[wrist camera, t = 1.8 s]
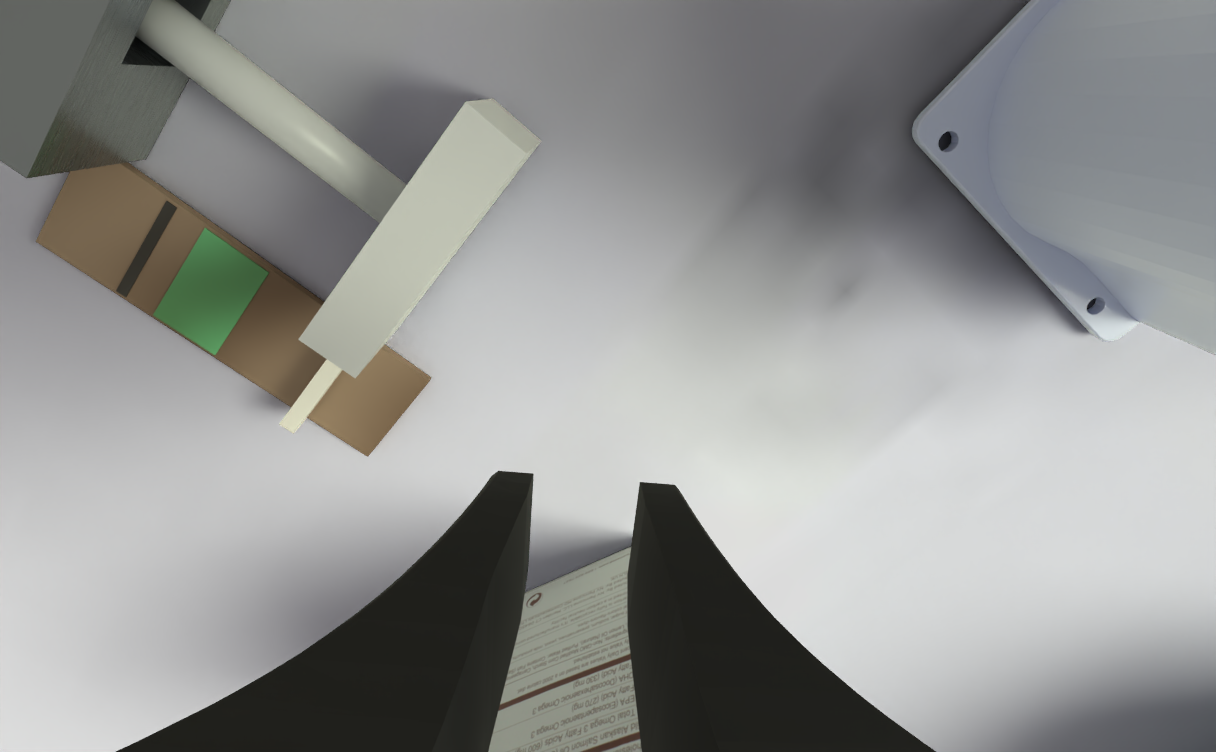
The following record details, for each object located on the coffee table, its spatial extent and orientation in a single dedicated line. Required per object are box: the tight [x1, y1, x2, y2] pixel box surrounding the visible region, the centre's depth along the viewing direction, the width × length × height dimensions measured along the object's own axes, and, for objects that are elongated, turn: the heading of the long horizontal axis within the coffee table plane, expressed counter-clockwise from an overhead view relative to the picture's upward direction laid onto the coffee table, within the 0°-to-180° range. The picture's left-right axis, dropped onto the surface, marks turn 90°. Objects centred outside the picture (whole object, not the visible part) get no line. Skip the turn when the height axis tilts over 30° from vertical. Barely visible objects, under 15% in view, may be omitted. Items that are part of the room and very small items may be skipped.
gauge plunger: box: [135, 0, 541, 434], centre depth 16 cm, size 11×12×4 cm
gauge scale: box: [36, 162, 431, 457], centre depth 19 cm, size 11×4×1 cm, turn 49°
